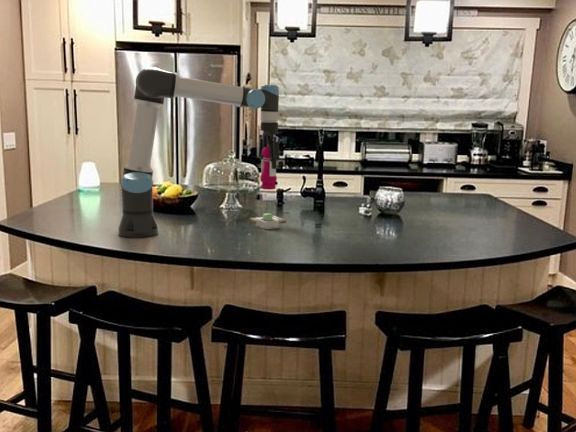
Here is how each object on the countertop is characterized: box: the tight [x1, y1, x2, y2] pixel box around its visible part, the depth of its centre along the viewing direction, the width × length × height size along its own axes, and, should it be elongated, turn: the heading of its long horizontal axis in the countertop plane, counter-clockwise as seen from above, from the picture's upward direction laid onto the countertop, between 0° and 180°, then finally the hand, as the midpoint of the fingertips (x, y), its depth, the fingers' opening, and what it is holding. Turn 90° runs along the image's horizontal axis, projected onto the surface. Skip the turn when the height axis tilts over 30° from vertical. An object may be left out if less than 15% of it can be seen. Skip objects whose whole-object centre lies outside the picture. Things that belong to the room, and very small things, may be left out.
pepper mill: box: [259, 144, 278, 190], centre depth 250 cm, size 7×7×20 cm
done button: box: [262, 212, 273, 222], centre depth 244 cm, size 4×4×4 cm
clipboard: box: [248, 215, 287, 224], centre depth 255 cm, size 13×10×1 cm
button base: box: [255, 218, 280, 230], centre depth 245 cm, size 7×7×3 cm
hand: (268, 174), depth 251 cm, fingers closed on pepper mill, 6 cm apart
